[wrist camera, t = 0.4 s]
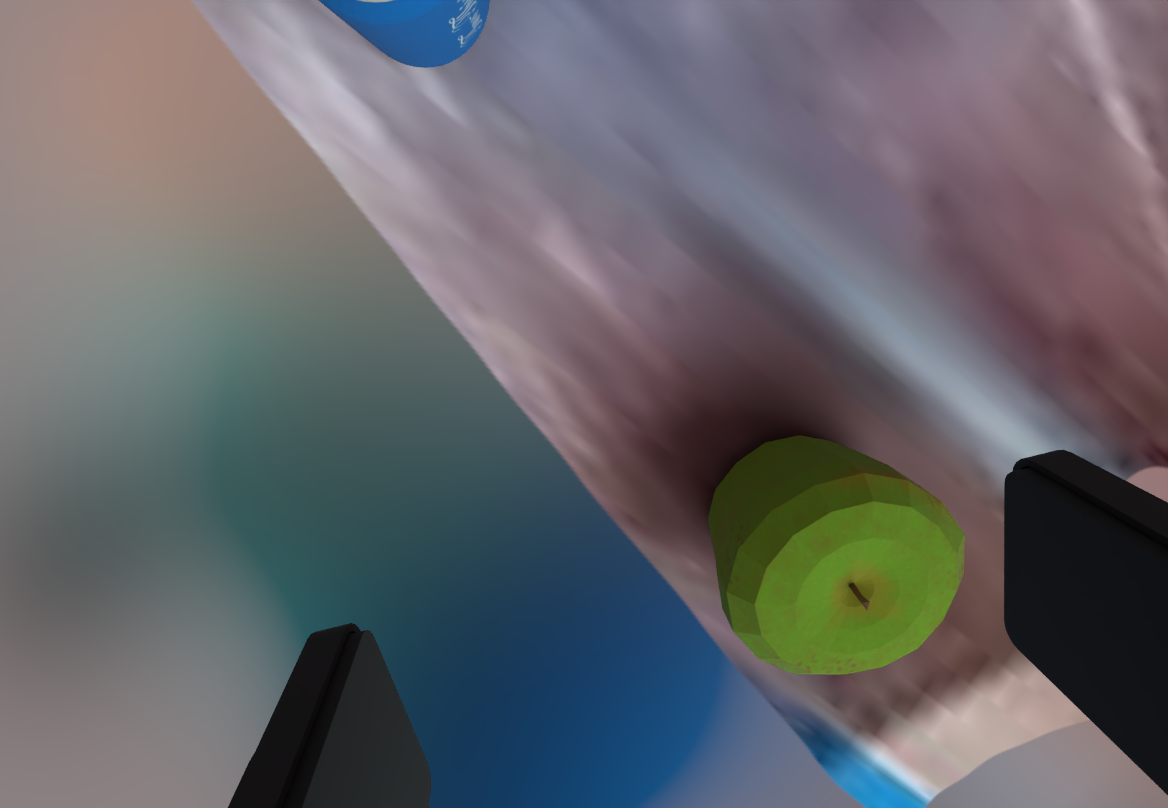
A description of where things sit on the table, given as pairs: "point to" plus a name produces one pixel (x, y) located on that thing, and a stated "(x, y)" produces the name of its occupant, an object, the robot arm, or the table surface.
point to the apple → (831, 557)
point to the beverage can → (416, 27)
